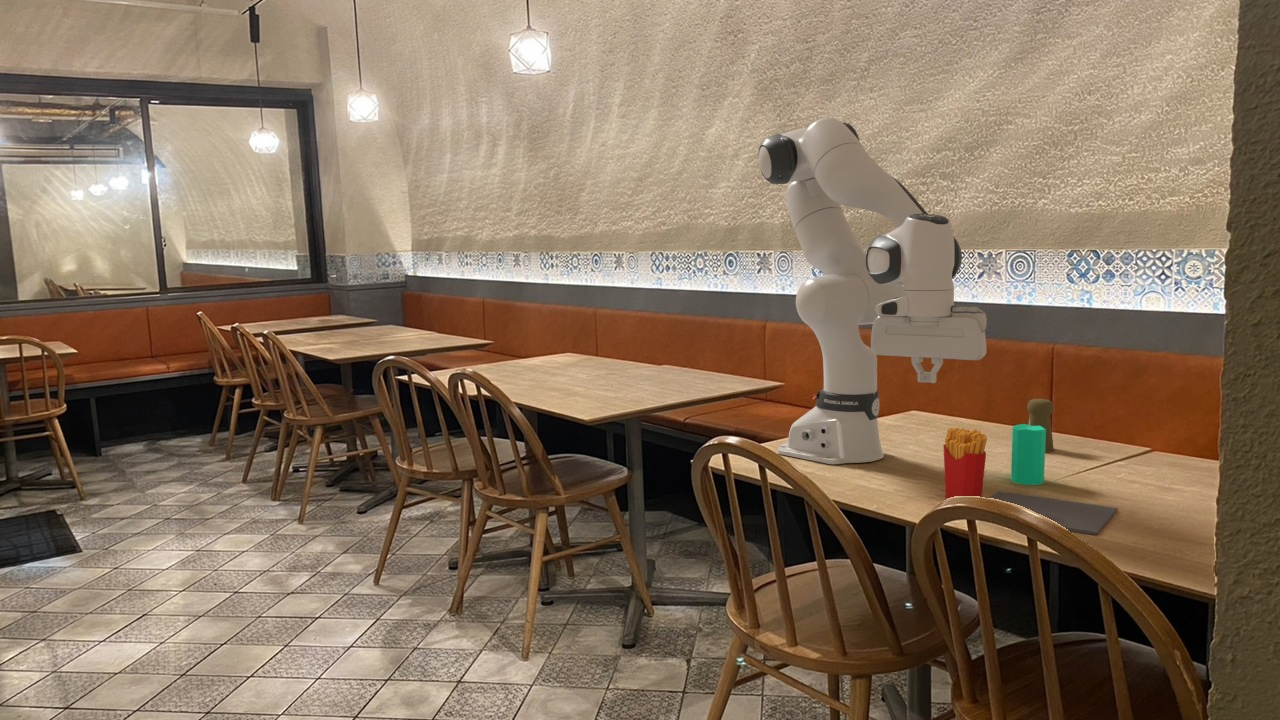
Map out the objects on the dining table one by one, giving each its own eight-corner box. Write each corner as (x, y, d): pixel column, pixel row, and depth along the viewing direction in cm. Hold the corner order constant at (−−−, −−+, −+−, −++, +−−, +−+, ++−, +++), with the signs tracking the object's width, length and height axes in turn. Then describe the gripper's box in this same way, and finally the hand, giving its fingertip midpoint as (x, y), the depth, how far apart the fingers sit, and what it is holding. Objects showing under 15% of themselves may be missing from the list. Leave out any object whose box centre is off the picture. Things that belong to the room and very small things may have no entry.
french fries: (937, 496, 180) (939, 426, 179) (956, 493, 182) (957, 424, 180) (972, 509, 172) (974, 436, 170) (991, 506, 174) (994, 433, 172)
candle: (1040, 486, 186) (1043, 423, 184) (1007, 482, 189) (1009, 420, 187) (1046, 479, 191) (1049, 418, 189) (1014, 475, 194) (1016, 415, 192)
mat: (970, 515, 169) (970, 512, 169) (997, 493, 181) (998, 491, 181) (1096, 535, 157) (1096, 532, 157) (1117, 510, 170) (1117, 507, 170)
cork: (1058, 452, 212) (1060, 401, 211) (1029, 452, 212) (1031, 402, 211) (1047, 445, 218) (1049, 396, 217) (1019, 446, 218) (1021, 397, 217)
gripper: (992, 305, 173) (990, 383, 175) (881, 303, 185) (880, 376, 187) (981, 308, 168) (979, 388, 170) (867, 305, 180) (867, 380, 182)
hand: (926, 382), depth 178 cm, fingers closed
